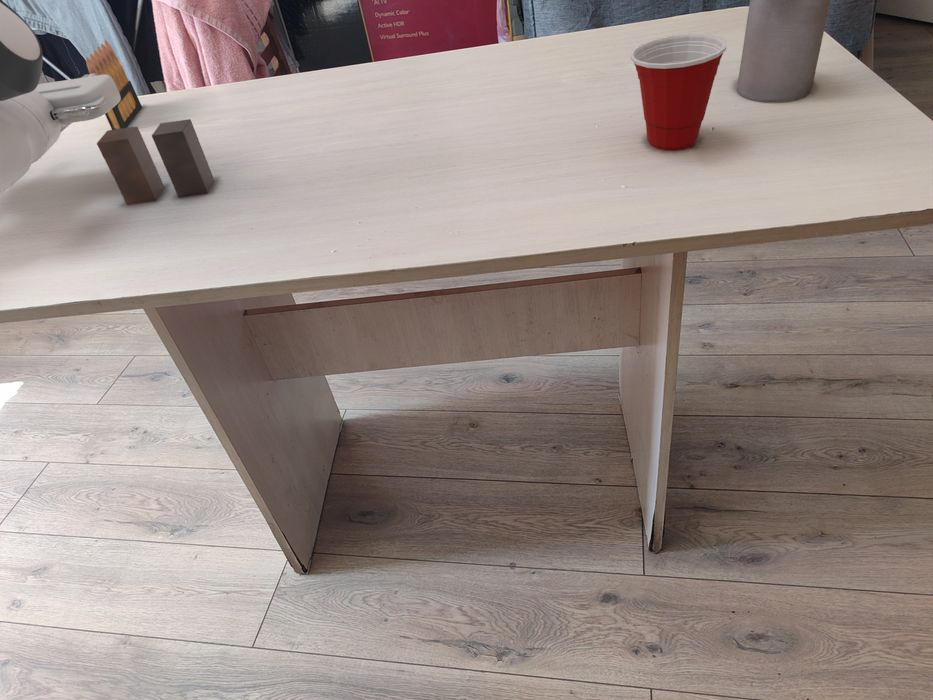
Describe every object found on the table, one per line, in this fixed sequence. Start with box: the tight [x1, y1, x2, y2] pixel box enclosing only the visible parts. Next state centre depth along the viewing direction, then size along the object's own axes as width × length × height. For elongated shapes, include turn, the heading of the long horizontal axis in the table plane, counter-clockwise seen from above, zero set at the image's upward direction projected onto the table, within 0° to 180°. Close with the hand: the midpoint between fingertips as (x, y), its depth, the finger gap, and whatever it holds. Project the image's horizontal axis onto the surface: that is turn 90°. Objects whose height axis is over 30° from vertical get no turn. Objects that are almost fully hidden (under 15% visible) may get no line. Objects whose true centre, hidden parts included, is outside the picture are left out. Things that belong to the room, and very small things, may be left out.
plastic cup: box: [629, 33, 728, 152], centre depth 82 cm, size 11×11×12 cm
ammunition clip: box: [85, 39, 143, 130], centre depth 112 cm, size 11×2×12 cm, turn 5°
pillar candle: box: [736, 0, 832, 103], centre depth 90 cm, size 10×10×15 cm
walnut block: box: [96, 126, 165, 206], centre depth 89 cm, size 4×4×9 cm
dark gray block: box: [151, 118, 215, 199], centre depth 88 cm, size 4×4×9 cm
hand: (61, 84), depth 96 cm, fingers open, 8 cm apart
